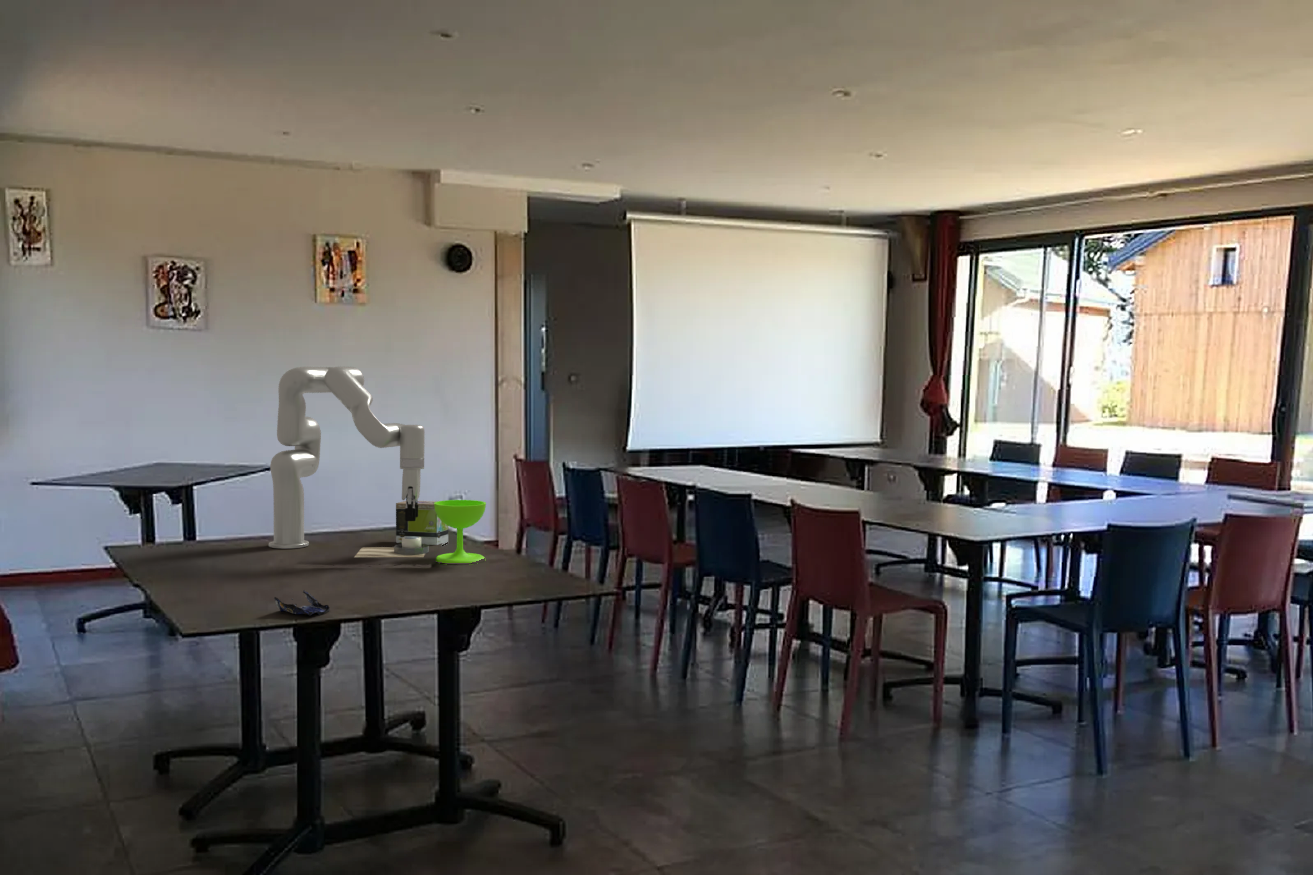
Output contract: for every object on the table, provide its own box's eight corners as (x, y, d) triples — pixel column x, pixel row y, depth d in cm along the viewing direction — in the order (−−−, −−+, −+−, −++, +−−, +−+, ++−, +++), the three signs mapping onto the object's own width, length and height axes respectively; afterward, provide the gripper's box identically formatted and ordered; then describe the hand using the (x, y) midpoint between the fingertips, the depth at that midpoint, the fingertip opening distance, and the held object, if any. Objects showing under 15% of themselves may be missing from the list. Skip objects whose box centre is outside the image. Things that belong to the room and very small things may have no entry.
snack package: (311, 607, 273) (267, 613, 265) (314, 583, 272) (270, 587, 264) (336, 623, 265) (291, 630, 256) (339, 598, 264) (294, 604, 255)
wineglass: (473, 554, 351) (474, 498, 350) (493, 562, 337) (494, 504, 336) (425, 558, 342) (426, 501, 341) (444, 566, 329) (445, 507, 328)
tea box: (449, 544, 370) (449, 500, 369) (436, 548, 360) (436, 504, 359) (408, 541, 373) (408, 498, 372) (394, 546, 364) (395, 502, 363)
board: (362, 551, 353) (362, 547, 353) (428, 551, 355) (428, 547, 355) (353, 561, 335) (353, 557, 335) (423, 560, 337) (423, 557, 337)
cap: (402, 550, 348) (402, 536, 348) (421, 550, 349) (422, 536, 349) (400, 553, 343) (400, 538, 342) (420, 553, 343) (420, 539, 343)
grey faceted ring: (396, 549, 350) (396, 543, 350) (429, 549, 352) (429, 543, 351) (392, 554, 340) (392, 548, 340) (427, 554, 341) (427, 548, 341)
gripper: (402, 461, 352) (402, 515, 353) (396, 466, 335) (396, 523, 336) (426, 461, 353) (426, 515, 354) (421, 466, 336) (421, 523, 337)
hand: (411, 518), depth 345 cm, fingers open, 7 cm apart
